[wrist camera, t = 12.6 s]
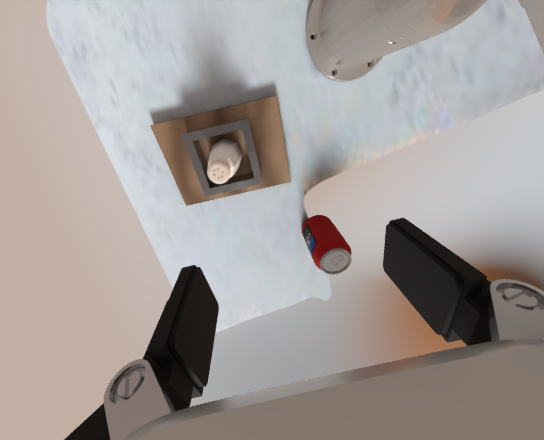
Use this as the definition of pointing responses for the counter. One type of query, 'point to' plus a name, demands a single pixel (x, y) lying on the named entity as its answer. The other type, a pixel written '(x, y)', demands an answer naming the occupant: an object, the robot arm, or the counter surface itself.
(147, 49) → the counter surface
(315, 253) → the beverage can
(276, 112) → the walnut board
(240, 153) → the salt shaker
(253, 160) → the metal socket
